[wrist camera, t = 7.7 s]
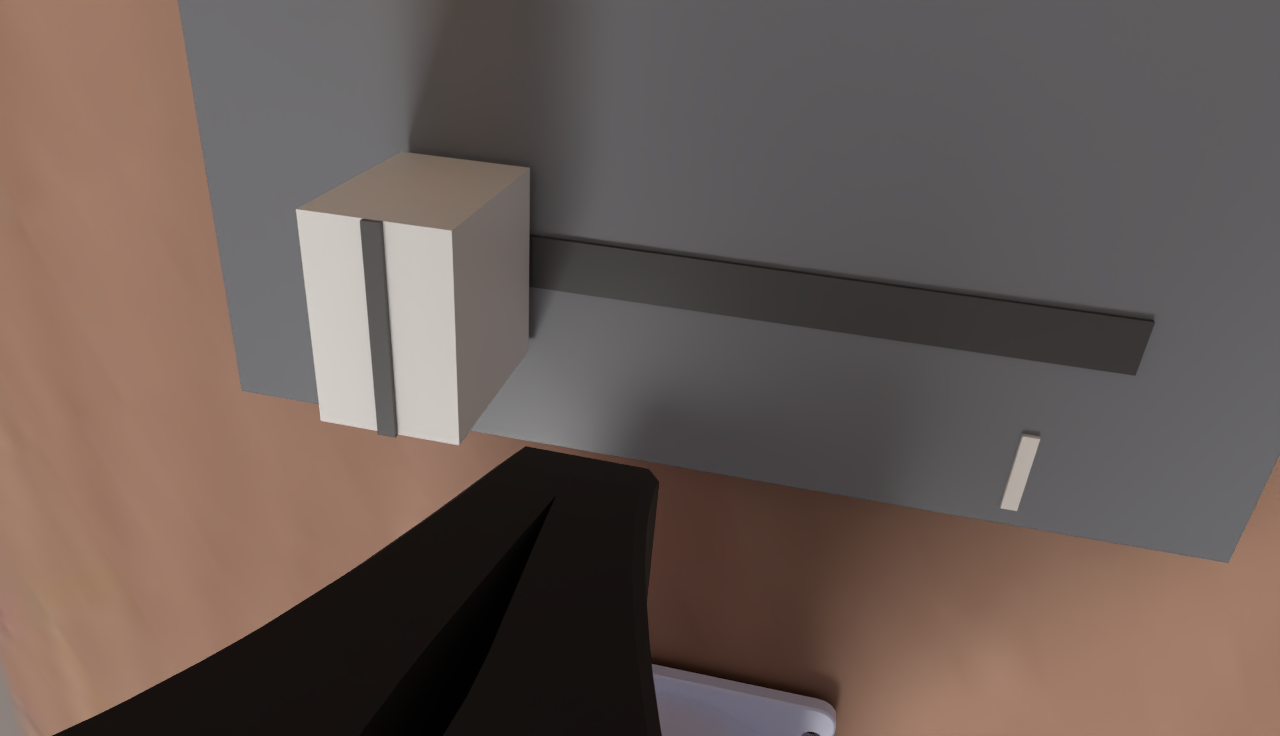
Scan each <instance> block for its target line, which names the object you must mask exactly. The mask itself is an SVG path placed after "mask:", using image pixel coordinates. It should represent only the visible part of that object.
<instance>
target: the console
mask: <svg viewBox="0 0 1280 736" xmlns="http://www.w3.org/2000/svg"><path fill="white" fill-rule="evenodd" d="M178 5H179V11H180V17H181V23H182V29H183V35H184V41H185V47H186V53H187V59H188V65H189V72H190V78H191V84H192V90H193V96H194V102H195V108H196V114H197V120H198V126H199V133H200V139H201V145H202V151H203V157H204V163H205V169H206V175H207V181H208V187H209V194H210V200H211V206H212V212H213V218H214V224H215V230H216V236H217V242H218V248H219V255H220V261H221V267H222V273H223V279H224V285H225V291H226V297H227V303H228V309H229V316H230V322H231V328H232V334H233V340H234V346H235V352H236V358H237V364H238V370H239V377H240V383H241V389H242V391H246V392H251V393H257V394H263V395H268V396H274V397H280V398H286V399H291V400H297V401H303V402H309V403H314V404H319V400H318V392H317V384H316V375H315V367H314V358H313V350H312V341H311V333H310V325H309V316H308V308H307V299H306V291H305V282H304V274H303V265H302V257H301V249H300V240H299V232H298V223H297V215H296V209H297V208H299V207H301V206H302V205H304V204H306V203H308V202H310V201H312V200H313V199H315V198H317V197H319V196H321V195H323V194H325V193H326V192H328V191H330V190H332V189H334V188H336V187H337V186H339V185H341V184H343V183H345V182H347V181H348V180H350V179H352V178H354V177H356V176H358V175H360V174H361V173H363V172H365V171H367V170H369V169H371V168H372V167H374V166H376V165H378V164H380V163H382V162H383V161H385V160H387V159H389V158H391V157H393V156H395V155H396V154H398V153H400V152H409V153H417V154H425V155H433V156H441V157H448V158H456V159H464V160H472V161H480V162H488V163H496V164H504V165H512V166H520V167H528V168H530V230H529V351H528V352H527V354H526V355H525V356H524V358H523V359H522V360H521V362H520V363H519V365H518V366H517V367H516V369H515V370H514V371H513V373H512V374H511V375H510V377H509V378H508V380H507V381H506V382H505V384H504V385H503V386H502V388H501V389H500V390H499V392H498V393H497V395H496V396H495V397H494V399H493V400H492V401H491V403H490V404H489V405H488V407H487V408H486V410H485V411H484V412H483V414H482V415H481V416H480V418H479V419H478V420H477V422H476V423H475V425H474V426H473V427H472V429H471V430H470V431H475V432H481V433H486V434H492V435H498V436H503V437H509V438H515V439H521V440H526V441H532V442H538V443H544V444H549V445H555V446H561V447H566V448H572V449H578V450H584V451H589V452H595V453H601V454H607V455H612V456H618V457H624V458H629V459H635V460H641V461H647V462H652V463H658V464H664V465H670V466H675V467H681V468H687V469H693V470H698V471H704V472H710V473H715V474H721V475H727V476H733V477H738V478H744V479H750V480H756V481H761V482H767V483H773V484H778V485H784V486H790V487H796V488H801V489H807V490H813V491H819V492H824V493H830V494H836V495H842V496H847V497H853V498H859V499H864V500H870V501H876V502H882V503H887V504H893V505H899V506H905V507H910V508H916V509H922V510H927V511H933V512H939V513H945V514H950V515H956V516H962V517H968V518H973V519H979V520H985V521H990V522H996V523H1002V524H1008V525H1013V526H1019V527H1025V528H1031V529H1036V530H1042V531H1048V532H1054V533H1059V534H1065V535H1071V536H1076V537H1082V538H1088V539H1094V540H1099V541H1105V542H1111V543H1117V544H1122V545H1128V546H1134V547H1139V548H1145V549H1151V550H1157V551H1162V552H1168V553H1174V554H1180V555H1185V556H1191V557H1197V558H1202V559H1208V560H1214V561H1220V562H1225V563H1228V562H1229V560H1230V558H1231V556H1232V554H1233V552H1234V550H1235V548H1236V545H1237V543H1238V541H1239V539H1240V537H1241V535H1242V533H1243V531H1244V529H1245V527H1246V524H1247V522H1248V520H1249V518H1250V516H1251V514H1252V512H1253V510H1254V508H1255V506H1256V504H1257V501H1258V499H1259V497H1260V495H1261V493H1262V491H1263V489H1264V487H1265V485H1266V483H1267V480H1268V478H1269V476H1270V474H1271V472H1272V470H1273V468H1274V466H1275V464H1276V462H1277V460H1278V457H1279V455H1280V0H178Z"/></svg>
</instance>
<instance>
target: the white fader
mask: <svg viewBox="0 0 1280 736" xmlns="http://www.w3.org/2000/svg"><path fill="white" fill-rule="evenodd" d="M296 215H297V223H298V232H299V240H300V249H301V257H302V265H303V274H304V282H305V291H306V299H307V308H308V316H309V325H310V333H311V341H312V350H313V358H314V367H315V375H316V384H317V392H318V400H319V409H320V417H321V421H325V422H331V423H336V424H342V425H348V426H353V427H359V428H365V429H370V430H376V431H377V432H378V435H383V436H389V437H396V436H397V435H404V436H410V437H415V438H421V439H427V440H432V441H438V442H443V443H449V444H455V445H460V444H461V442H462V441H463V440H464V438H465V437H466V435H467V434H468V433H469V431H470V430H471V429H472V427H473V426H474V425H475V423H476V422H477V420H478V419H479V418H480V416H481V415H482V414H483V412H484V411H485V410H486V408H487V407H488V405H489V404H490V403H491V401H492V400H493V399H494V397H495V396H496V395H497V393H498V392H499V390H500V389H501V388H502V386H503V385H504V384H505V382H506V381H507V380H508V378H509V377H510V375H511V374H512V373H513V371H514V370H515V369H516V367H517V366H518V365H519V363H520V362H521V360H522V359H523V358H524V356H525V355H526V354H527V352H528V351H529V230H530V168H528V167H520V166H512V165H504V164H496V163H488V162H480V161H472V160H464V159H456V158H448V157H441V156H433V155H425V154H417V153H409V152H400V153H398V154H396V155H395V156H393V157H391V158H389V159H387V160H385V161H383V162H382V163H380V164H378V165H376V166H374V167H372V168H371V169H369V170H367V171H365V172H363V173H361V174H360V175H358V176H356V177H354V178H352V179H350V180H348V181H347V182H345V183H343V184H341V185H339V186H337V187H336V188H334V189H332V190H330V191H328V192H326V193H325V194H323V195H321V196H319V197H317V198H315V199H313V200H312V201H310V202H308V203H306V204H304V205H302V206H301V207H299V208H297V209H296Z"/></svg>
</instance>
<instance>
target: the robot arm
mask: <svg viewBox="0 0 1280 736" xmlns="http://www.w3.org/2000/svg"><path fill="white" fill-rule="evenodd" d="M658 488H659V481H658V480H657V479H656V477H655V476H654V475H653V474H652V472H651V471H650V470H649V469H645V468H640V467H635V466H629V465H624V464H618V463H613V462H607V461H602V460H596V459H591V458H586V457H580V456H575V455H569V454H564V453H558V452H553V451H548V450H542V449H537V448H531V447H524V448H523V449H521V450H520V451H518V452H517V453H515V454H514V455H513V456H511V457H510V458H508V459H507V460H505V461H504V462H503V463H501V464H500V465H498V466H497V467H496V468H494V469H493V470H491V471H490V472H489V473H487V474H486V475H485V476H483V477H482V478H481V479H479V480H478V481H477V482H475V483H474V484H472V485H471V486H470V487H468V488H467V489H466V490H464V491H463V492H462V493H460V494H459V495H458V496H456V497H455V498H454V499H452V500H451V501H449V502H448V503H447V504H445V505H444V506H443V507H441V508H440V509H438V510H437V511H436V512H434V513H433V514H432V515H430V516H429V517H427V518H426V519H425V520H423V521H422V522H420V523H419V524H418V525H416V526H415V527H413V528H412V529H410V530H409V531H408V532H406V533H405V534H403V535H402V536H400V537H399V538H398V539H396V540H395V541H393V542H392V543H390V544H389V545H387V546H386V547H385V548H383V549H382V550H380V551H379V552H377V553H376V554H375V555H373V556H372V557H370V558H369V559H367V560H366V561H364V562H363V563H362V564H360V565H359V566H357V567H356V568H354V569H353V570H351V571H350V572H348V573H347V574H345V575H344V576H342V577H340V578H339V579H337V580H336V581H334V582H333V583H331V584H329V585H328V586H326V587H325V588H323V589H321V590H320V591H318V592H317V593H315V594H314V595H312V596H310V597H309V598H307V599H306V600H304V601H302V602H301V603H299V604H298V605H296V606H294V607H293V608H291V609H290V610H288V611H287V612H285V613H283V614H282V615H280V616H279V617H277V618H275V619H274V620H272V621H271V622H269V623H267V624H266V625H264V626H263V627H261V628H259V629H257V630H256V631H254V632H252V633H251V634H249V635H247V636H245V637H244V638H242V639H240V640H239V641H237V642H235V643H233V644H231V645H230V646H228V647H226V648H224V649H222V650H221V651H219V652H217V653H215V654H214V655H212V656H210V657H208V658H206V659H205V660H203V661H201V662H199V663H197V664H195V665H193V666H191V667H190V668H188V669H186V670H184V671H182V672H180V673H178V674H176V675H174V676H172V677H171V678H169V679H167V680H165V681H163V682H161V683H159V684H157V685H155V686H153V687H151V688H150V689H148V690H146V691H144V692H142V693H140V694H138V695H136V696H134V697H132V698H131V699H129V700H127V701H125V702H123V703H121V704H119V705H117V706H115V707H112V708H110V709H108V710H106V711H104V712H102V713H100V714H98V715H96V716H94V717H92V718H90V719H88V720H85V721H83V722H81V723H79V724H77V725H75V726H72V727H70V728H68V729H66V730H64V731H61V732H59V733H57V734H55V735H53V736H834V734H835V730H836V711H835V710H834V708H833V706H831V705H830V704H829V703H827V702H826V701H823V700H820V699H817V698H812V697H807V696H803V695H798V694H793V693H788V692H784V691H779V690H774V689H769V688H765V687H760V686H755V685H750V684H745V683H741V682H736V681H731V680H726V679H722V678H717V677H712V676H707V675H703V674H698V673H693V672H688V671H684V670H679V669H674V668H669V667H664V666H660V665H655V664H652V662H651V653H650V644H649V630H648V615H647V595H648V586H649V576H650V566H651V556H652V547H653V537H654V527H655V517H656V507H657V498H658ZM807 732H815V733H817V734H809V733H807Z"/></svg>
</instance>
